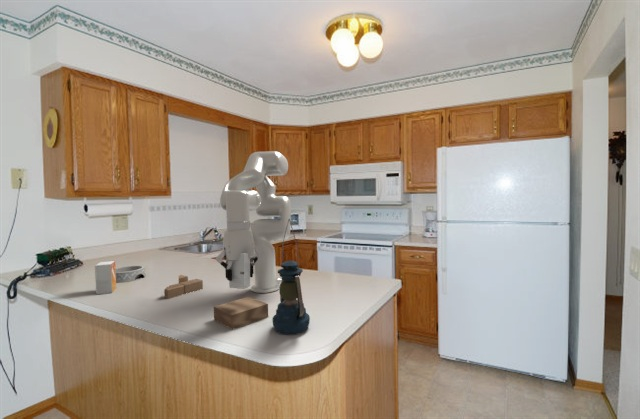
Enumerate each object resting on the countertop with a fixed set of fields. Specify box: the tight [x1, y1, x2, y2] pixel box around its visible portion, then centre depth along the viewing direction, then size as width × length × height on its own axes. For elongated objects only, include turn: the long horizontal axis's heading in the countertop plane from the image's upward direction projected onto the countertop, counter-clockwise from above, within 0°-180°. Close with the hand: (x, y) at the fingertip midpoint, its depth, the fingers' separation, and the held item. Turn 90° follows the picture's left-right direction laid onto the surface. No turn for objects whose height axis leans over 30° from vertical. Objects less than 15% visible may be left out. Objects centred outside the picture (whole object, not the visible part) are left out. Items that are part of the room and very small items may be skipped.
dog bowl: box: [115, 265, 147, 284], centre depth 172 cm, size 17×18×5 cm
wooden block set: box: [163, 274, 204, 300], centre depth 148 cm, size 17×6×18 cm
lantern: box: [272, 219, 311, 336], centre depth 103 cm, size 14×12×35 cm
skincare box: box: [228, 253, 251, 290], centre depth 112 cm, size 6×4×12 cm
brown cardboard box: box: [213, 296, 269, 330], centre depth 113 cm, size 14×12×5 cm
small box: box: [94, 260, 117, 295], centre depth 149 cm, size 8×6×13 cm
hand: (239, 277), depth 112 cm, fingers closed on skincare box, 6 cm apart
